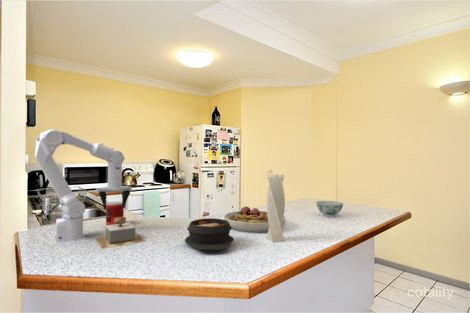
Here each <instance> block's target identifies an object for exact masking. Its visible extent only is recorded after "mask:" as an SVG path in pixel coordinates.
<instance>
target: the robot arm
mask: <svg viewBox="0 0 470 313" xmlns="http://www.w3.org/2000/svg"><path fill="white" fill-rule="evenodd" d="M35 143H36V144H35V148H34V149H35V151H34V158H35V160H36V162H37V164H38V166H39V167H40V169H41V170H42V172H43V174H44V176H45V177H46V179H47V181H48V182H49V183H50V186H51V187H52V188H53V191H54V193H55V194H56V196H57V197H58V200H59V203H60V210H61V211H62V217H61V218H56V220H55V233H54V239H55V242H56V244H57V243H64V242H72V241H73V242H74V241H79V240H85V239H86V237H85V235H84V213H85V212H86V205H85V203H83V202H82V201H80V200H79V199H78V198H79V197H77V196H76V194H75V193H74V192H73V190H72V189H71V187H70V186H69V184H68V181H67V179H65V177H64V175H63V173H62V171H61V170H60V168H59V166H58V164H57V163H56V160H54V158H53V155H54V154H55V152H56V149H57V148H58V147H60V146H63V145H70V146H73V147H76V148H79V149H81V150H85V151H88V152H89V154H90V155H91V156H93V157H95V158H98V159H100V160H103V161H105V162H107V187H96V188H95V191H96V192H95V194H98V196H99V198H100V200H101V203H102V207H103V208H102V209H103V210H105V211H106V203H107V197H108V196H107V193H118V192H119V193H121V199H122V200H121V202H122V207H123V208H124V209H125V208H126V203H127V201H128V198H129V196H130V195H131V192H133V186H122V183H123V182H122V181H123V179H122V178H123V162H124V161H125V159H126V158H125V156H124V153H123V152H122V151H120V150H115V148H113V147H108V146H106V145H104V143H102V142H99V143H98V142H96V143H91V142H88V141H86V140H84V139H82V138H80V137H77V136H76V135H75V136H74V135H73V134H71V133H68V132H65V131H60V130H58V129H55V128H52V129H48V130H45V131H42V132H41V133H40V134H39V135H38V137H37V138H36V140H35Z"/></svg>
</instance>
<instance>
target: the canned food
mask: <svg viewBox="0 0 470 313" xmlns="http://www.w3.org/2000/svg"><path fill="white" fill-rule="evenodd" d="M124 210H125V208H123V207H122V201H110V202H106V209H105V226H106V225H114V224H115V218H117V217H125V216H124Z"/></svg>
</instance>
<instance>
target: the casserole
mask: <svg viewBox="0 0 470 313" xmlns="http://www.w3.org/2000/svg"><path fill="white" fill-rule="evenodd" d="M186 230H187V231H188V234H189V235H188V236H186V237H185V238H184V242H185V243H186V244H187V245H189V246H191V247H194V248H195V249H197V250H199V251H218V250H219V251H220V250H225V249H228V248H230V247H231V244H232V243H233V242H234V237H233V236H232V235H230V233H231V232H230V231H231V230H233V229H232V227H231V226H230V224H229V222H228V221H226V220H224V219H221V218H210V217H209V218H208V217H207V218H199V219H198V218H197V219H194V220H191V221H190V222H189V225H188V227H186Z"/></svg>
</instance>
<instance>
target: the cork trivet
mask: <svg viewBox="0 0 470 313" xmlns="http://www.w3.org/2000/svg"><path fill="white" fill-rule="evenodd" d="M94 240H95V242H96V243H97V245H98V246H99V248H100V249H101V250H104V249H110V248H115V247H119V246H120V247H121V246H122V247H123V246H127V245H132V244H133V245H134V244H138V243H145V242H147V240H146V238H143V236H141V235H140V234H139V233H137V232H136V231H135V241H129V242H122V243H116V244H109V243H108V241H107V240H106V239H105V236H98V237H94Z"/></svg>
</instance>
